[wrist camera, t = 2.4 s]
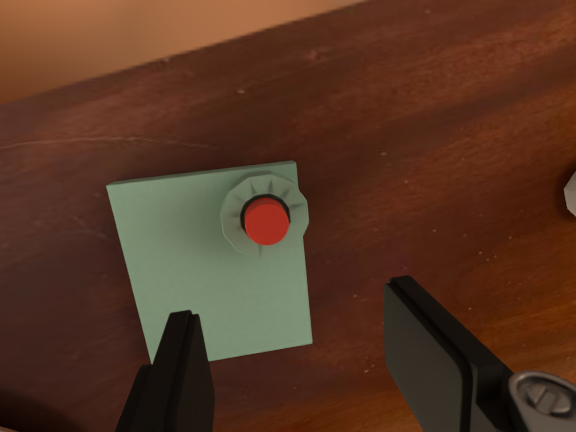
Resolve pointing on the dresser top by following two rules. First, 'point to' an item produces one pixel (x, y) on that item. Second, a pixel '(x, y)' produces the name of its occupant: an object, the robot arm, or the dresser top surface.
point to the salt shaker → (571, 194)
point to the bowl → (6, 430)
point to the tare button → (266, 221)
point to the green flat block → (216, 257)
